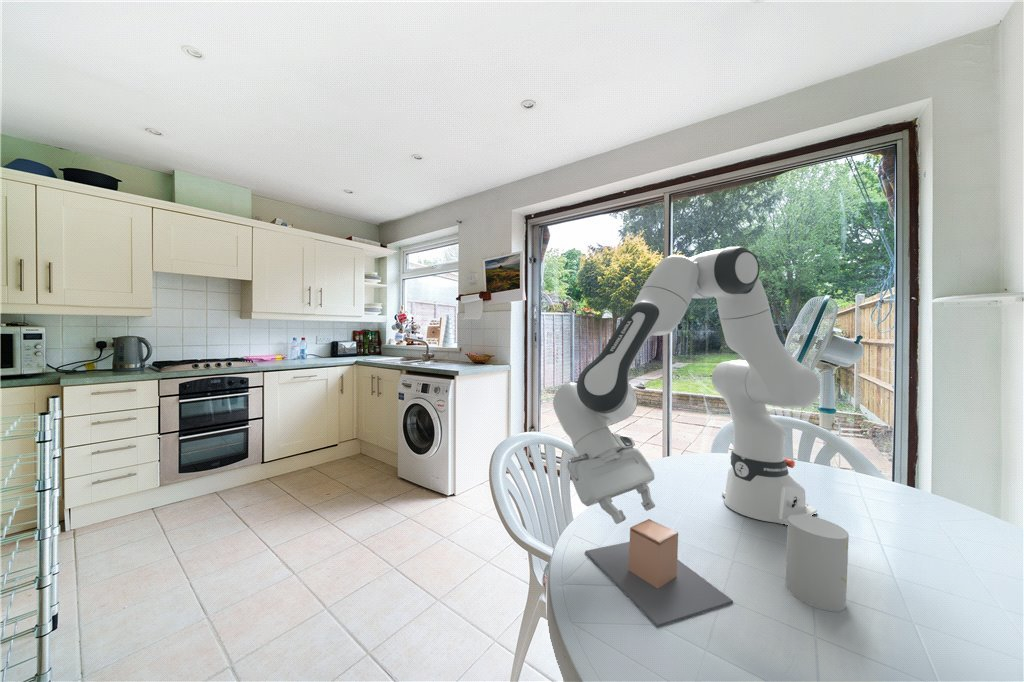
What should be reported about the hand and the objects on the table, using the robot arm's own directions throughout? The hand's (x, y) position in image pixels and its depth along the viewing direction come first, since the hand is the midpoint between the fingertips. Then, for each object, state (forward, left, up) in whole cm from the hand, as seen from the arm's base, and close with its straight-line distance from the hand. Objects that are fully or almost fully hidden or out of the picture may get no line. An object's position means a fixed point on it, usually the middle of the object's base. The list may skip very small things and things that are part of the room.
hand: (636, 515), depth 70 cm
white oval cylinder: (-25, +17, -10) cm, 31 cm away
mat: (-1, +4, -10) cm, 10 cm away
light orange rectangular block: (-1, +4, -9) cm, 10 cm away
